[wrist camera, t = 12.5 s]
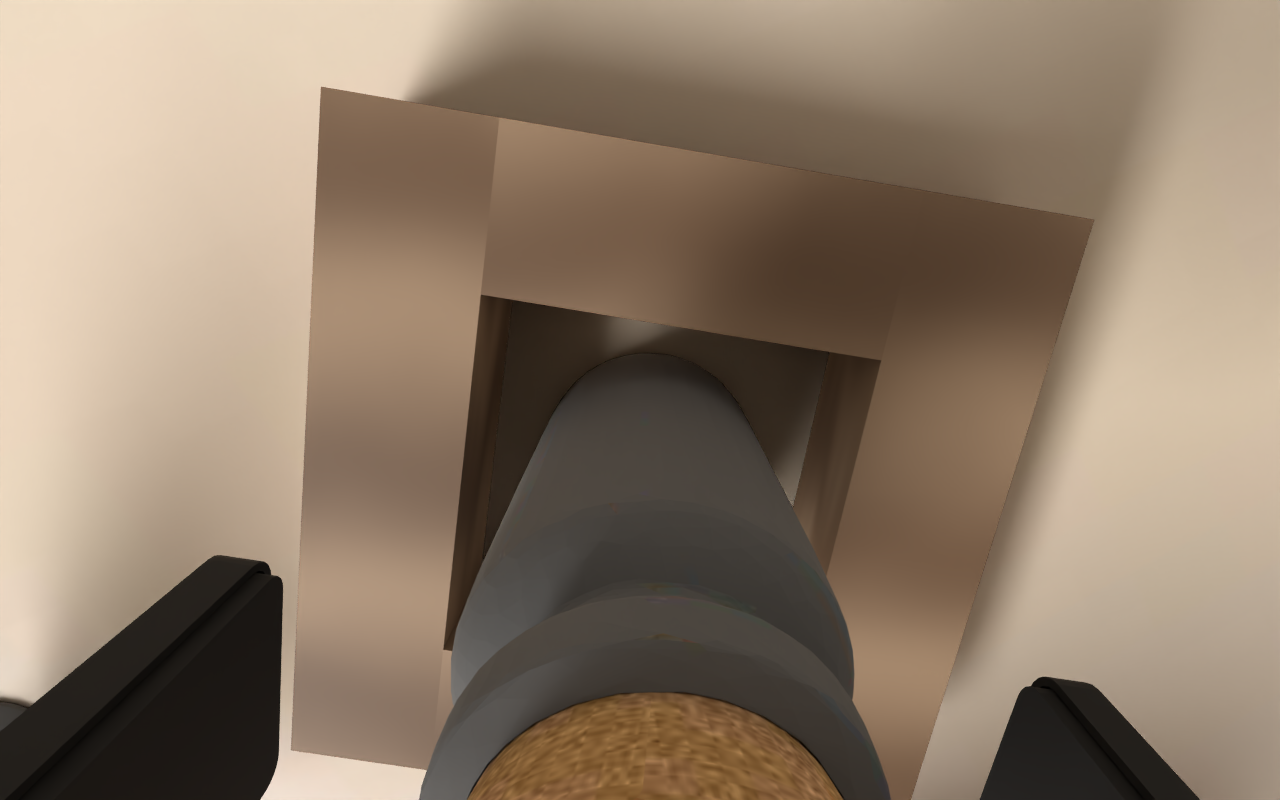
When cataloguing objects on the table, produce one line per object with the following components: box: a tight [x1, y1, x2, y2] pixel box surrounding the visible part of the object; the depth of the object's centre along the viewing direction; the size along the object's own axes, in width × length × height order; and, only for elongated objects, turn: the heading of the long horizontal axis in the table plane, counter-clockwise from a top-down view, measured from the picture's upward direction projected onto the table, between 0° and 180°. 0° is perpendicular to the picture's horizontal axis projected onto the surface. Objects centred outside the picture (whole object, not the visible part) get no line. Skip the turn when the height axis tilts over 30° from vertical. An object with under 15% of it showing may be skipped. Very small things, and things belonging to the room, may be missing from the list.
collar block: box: [291, 87, 1094, 800], centre depth 18 cm, size 16×16×4 cm
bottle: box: [419, 353, 891, 800], centre depth 13 cm, size 6×6×15 cm
